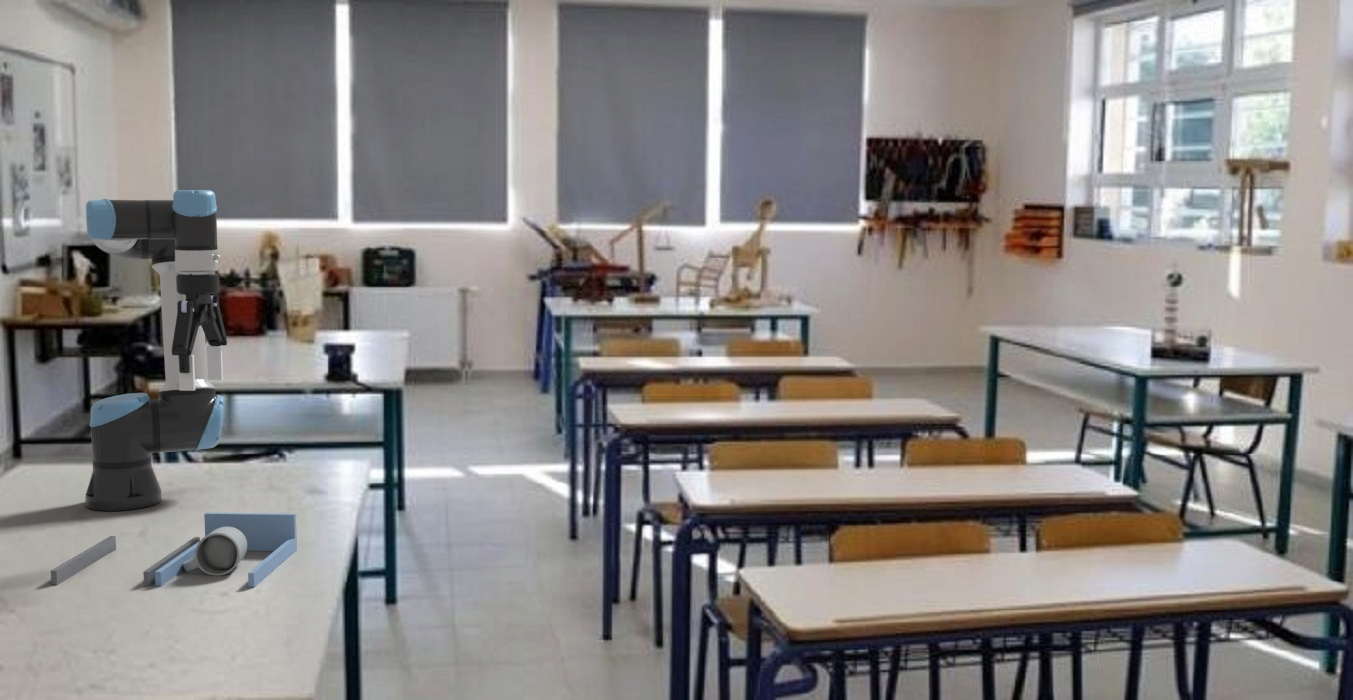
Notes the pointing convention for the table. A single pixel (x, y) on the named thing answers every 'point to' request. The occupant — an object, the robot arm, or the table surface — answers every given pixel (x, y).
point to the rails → (102, 550)
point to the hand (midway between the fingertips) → (201, 384)
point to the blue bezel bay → (260, 536)
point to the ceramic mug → (218, 552)
